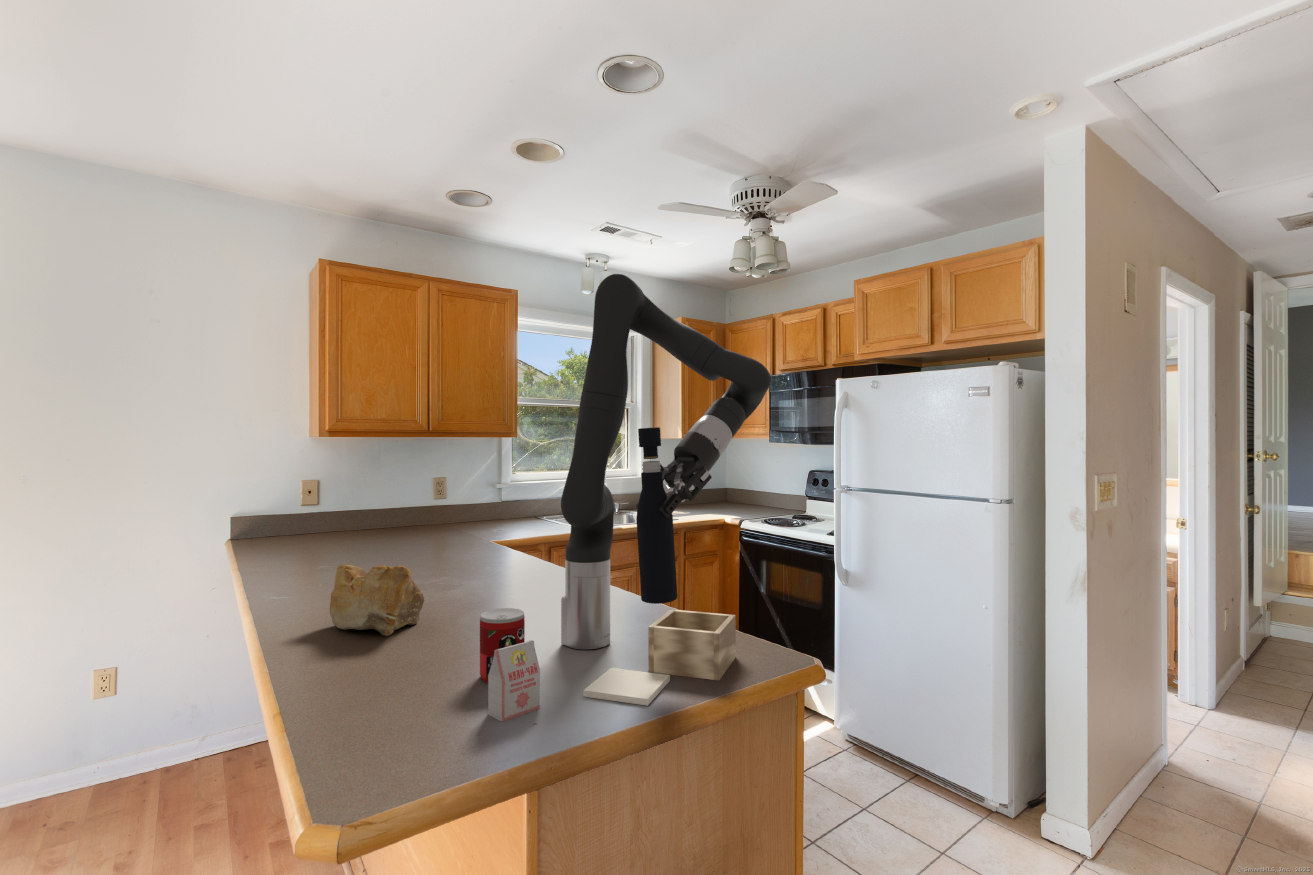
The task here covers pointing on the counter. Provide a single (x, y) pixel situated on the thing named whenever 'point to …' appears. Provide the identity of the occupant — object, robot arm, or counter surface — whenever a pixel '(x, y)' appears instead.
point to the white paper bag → (514, 681)
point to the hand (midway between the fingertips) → (651, 511)
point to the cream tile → (627, 686)
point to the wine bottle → (654, 528)
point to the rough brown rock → (375, 598)
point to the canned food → (499, 634)
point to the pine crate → (692, 644)
